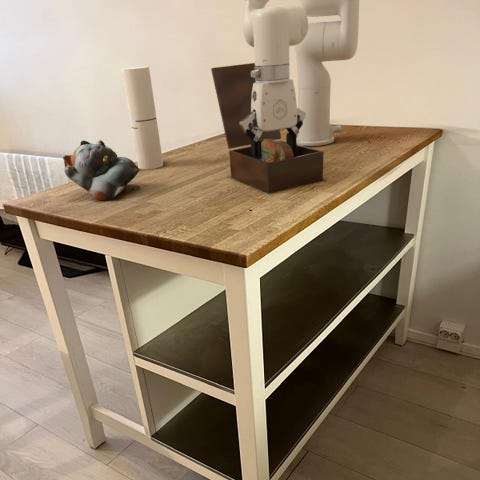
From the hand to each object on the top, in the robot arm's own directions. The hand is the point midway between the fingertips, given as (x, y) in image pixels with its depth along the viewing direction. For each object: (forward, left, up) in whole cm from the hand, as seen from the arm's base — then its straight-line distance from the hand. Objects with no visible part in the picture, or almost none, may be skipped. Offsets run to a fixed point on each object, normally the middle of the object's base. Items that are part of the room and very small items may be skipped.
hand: (274, 154), depth 115 cm
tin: (0, 0, -5) cm, 5 cm away
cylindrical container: (+19, -36, -6) cm, 41 cm away
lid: (0, -12, +10) cm, 15 cm away
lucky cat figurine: (+37, -18, -6) cm, 41 cm away
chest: (0, 0, -6) cm, 6 cm away
